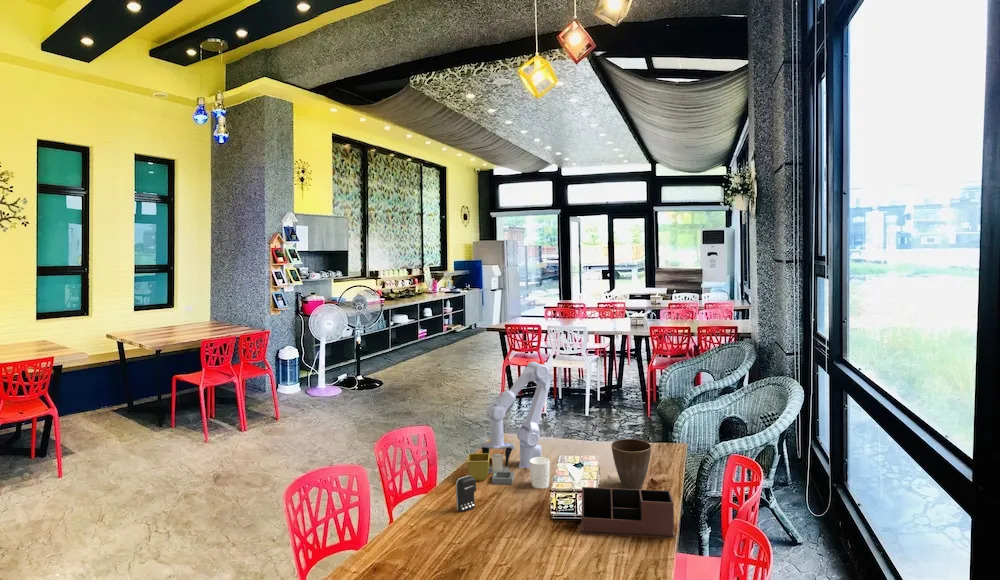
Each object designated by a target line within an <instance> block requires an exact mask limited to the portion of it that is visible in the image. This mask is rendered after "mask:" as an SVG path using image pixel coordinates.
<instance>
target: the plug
mask: <svg viewBox="0 0 1000 580" xmlns="http://www.w3.org/2000/svg"><path fill="white" fill-rule="evenodd" d="M503 456H504V455H503V454H502V453H500V454H497V453H493V454H492V456H491V463H492V471H493V472H494V471H502V470H503V467H504V457H503Z"/></svg>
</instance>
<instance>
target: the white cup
mask: <svg viewBox="0 0 1000 580" xmlns="http://www.w3.org/2000/svg"><path fill="white" fill-rule="evenodd" d="M550 471H551V460H550V459H549V458H548V457H544V456H542V457H535V458H532V459H530V468H529V472H530V481H531V483H530V484H531V486H532V487H533V488H536V489H548V488H549V487H550V478H551V477H550V474H551V473H550Z"/></svg>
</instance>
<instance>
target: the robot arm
mask: <svg viewBox="0 0 1000 580" xmlns="http://www.w3.org/2000/svg"><path fill="white" fill-rule="evenodd" d="M550 375H551V371H550V368H548V366H547V365H546V364H542V363H539V362H537V361H531V362H529V363H528V364H527V366H525V367H524V369H523V371H522V373H521V374H520V376H519V377H518V378H517V379H516V381H515V382H514V383H513V385H512V386H511V387H510V388H509V389H508V390H504V391H502V392H501V393H500V396H499V397H498V398H497V400H496V401H494V402H493V404H491V405H490V406H489V407H488V409H487V411H486V414H487V416H488V417H489V442H480V443H479V450H481V452H482V453H481V454H484V453H489V454H490V450H491V449H493V450H497V449H498V450H501V449H502V450H505V451H504V453H505V467H509V458H510V455H511V453H512V451H513V450H515V443H513V442H512V443H510V442H505V441H504V439H505V438H504V435H505V434H504V418H505V417H506V412H507V410H509V409H510V407H511V406H512V404H514V402H515V401H516V399H517V397H516V395H517V394H518V393H519V392H520V391H522V389H523V388H524V387H525V386H526V385H527V384H528V383H529V382H535V384H536V388H535V391H534V395H533V397H532V401H531V404H530V406H529V407H530V408H529V410H528V412H527V416H526V419H525V421H523V422H522V424H521V426H520V427H519V429H518V430H517V432H516V437H517V439H518V440H519V464H518V469H519V468H522V469H524V468H527V469H530V459H532V458H535V457H543V455H542V453H543V451H542V449H543V448H542V444H538V443H539V441H540V440H539V439H540V435H539V434H540V427H539V423H540V420H541V417H542V413H543V410H544V408H545V403H546V400H547V398H548V395H549V391H550V388H551V379H550V378H551V377H550ZM490 461H491V460H490V459H489V466H490V465H491V462H490Z"/></svg>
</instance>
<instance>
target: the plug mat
mask: <svg viewBox="0 0 1000 580" xmlns="http://www.w3.org/2000/svg"><path fill="white" fill-rule="evenodd" d="M509 470H510V466H507V467H506V466H503V470H502V471H509ZM488 474H494V472H493V471H492V466H490V465H489V469H488Z"/></svg>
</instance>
